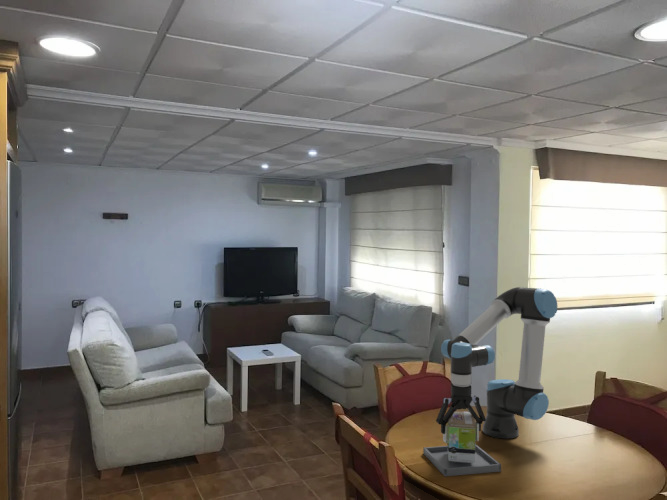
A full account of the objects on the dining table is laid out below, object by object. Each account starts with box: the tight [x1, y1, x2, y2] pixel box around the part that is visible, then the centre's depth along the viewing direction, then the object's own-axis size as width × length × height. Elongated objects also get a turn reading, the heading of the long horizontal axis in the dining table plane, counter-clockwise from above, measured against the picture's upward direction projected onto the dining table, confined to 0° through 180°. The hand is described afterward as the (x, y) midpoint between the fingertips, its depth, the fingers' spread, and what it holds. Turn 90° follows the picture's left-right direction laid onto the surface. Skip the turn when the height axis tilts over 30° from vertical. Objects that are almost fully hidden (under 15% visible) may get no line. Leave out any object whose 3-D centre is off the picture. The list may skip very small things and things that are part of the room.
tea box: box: [446, 410, 476, 463], centre depth 205 cm, size 15×10×15 cm, turn 169°
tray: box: [422, 443, 502, 477], centre depth 205 cm, size 22×21×2 cm
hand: (460, 440), depth 205 cm, fingers closed on tea box, 12 cm apart
